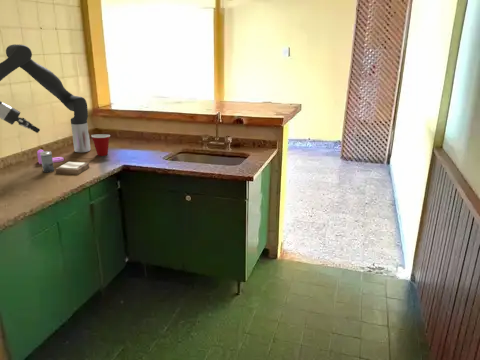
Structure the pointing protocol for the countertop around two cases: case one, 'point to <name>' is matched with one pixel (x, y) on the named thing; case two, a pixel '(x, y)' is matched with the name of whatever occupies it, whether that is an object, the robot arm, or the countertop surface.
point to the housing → (47, 161)
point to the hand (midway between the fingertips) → (38, 131)
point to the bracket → (57, 159)
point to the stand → (72, 168)
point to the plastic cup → (101, 143)
